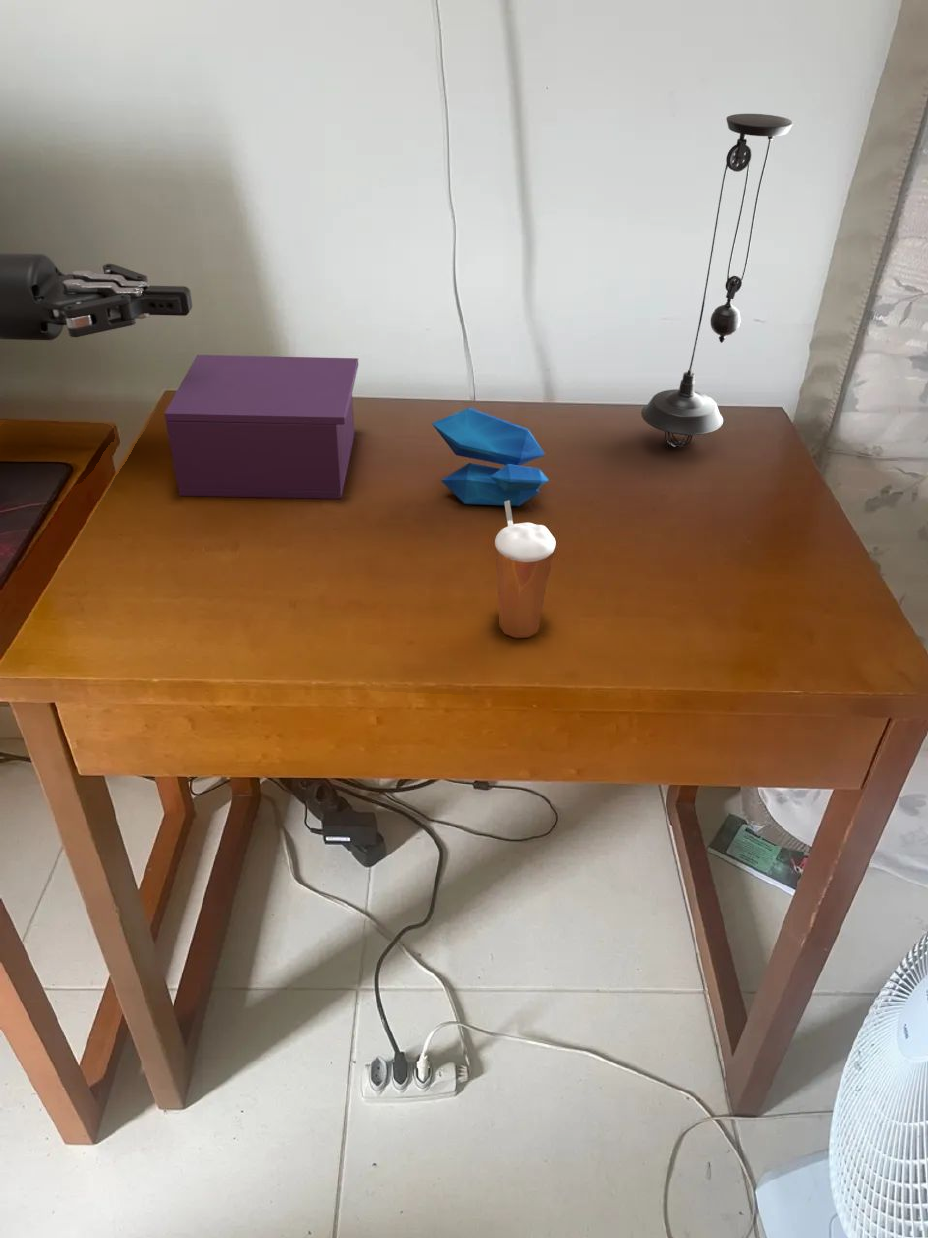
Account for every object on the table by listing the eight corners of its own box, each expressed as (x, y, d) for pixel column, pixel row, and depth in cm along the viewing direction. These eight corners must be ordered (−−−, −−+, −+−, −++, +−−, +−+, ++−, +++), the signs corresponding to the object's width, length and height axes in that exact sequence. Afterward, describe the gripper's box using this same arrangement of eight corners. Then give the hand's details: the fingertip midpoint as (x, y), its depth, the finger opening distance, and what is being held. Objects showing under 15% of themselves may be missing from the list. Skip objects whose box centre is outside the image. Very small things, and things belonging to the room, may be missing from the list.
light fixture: (706, 422, 109) (764, 109, 90) (743, 457, 103) (814, 128, 84) (624, 431, 107) (666, 112, 88) (657, 468, 101) (710, 132, 82)
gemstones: (561, 456, 88) (431, 420, 87) (533, 535, 93) (410, 502, 92) (562, 419, 94) (441, 385, 93) (536, 495, 99) (421, 464, 98)
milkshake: (525, 598, 82) (532, 494, 76) (558, 634, 78) (568, 528, 72) (476, 612, 80) (480, 507, 74) (507, 650, 77) (514, 542, 71)
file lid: (358, 365, 101) (358, 357, 100) (345, 425, 90) (344, 416, 89) (198, 361, 100) (197, 354, 100) (165, 421, 90) (163, 412, 89)
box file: (354, 434, 105) (350, 365, 101) (341, 499, 94) (336, 424, 90) (208, 431, 105) (198, 362, 100) (178, 495, 94) (165, 421, 90)
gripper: (-43, 279, 82) (164, 284, 82) (16, 232, 93) (200, 237, 93) (-18, 364, 87) (178, 369, 87) (35, 310, 97) (210, 315, 97)
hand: (189, 300), depth 90 cm, fingers closed
